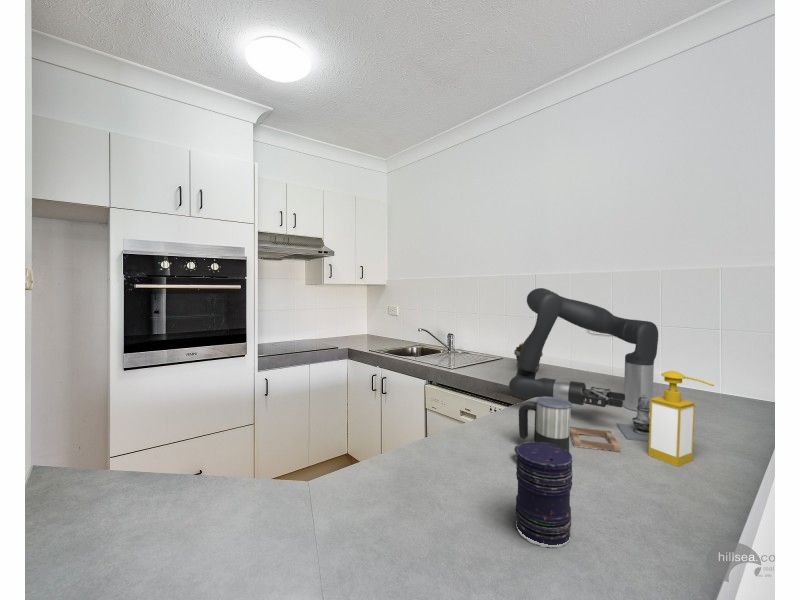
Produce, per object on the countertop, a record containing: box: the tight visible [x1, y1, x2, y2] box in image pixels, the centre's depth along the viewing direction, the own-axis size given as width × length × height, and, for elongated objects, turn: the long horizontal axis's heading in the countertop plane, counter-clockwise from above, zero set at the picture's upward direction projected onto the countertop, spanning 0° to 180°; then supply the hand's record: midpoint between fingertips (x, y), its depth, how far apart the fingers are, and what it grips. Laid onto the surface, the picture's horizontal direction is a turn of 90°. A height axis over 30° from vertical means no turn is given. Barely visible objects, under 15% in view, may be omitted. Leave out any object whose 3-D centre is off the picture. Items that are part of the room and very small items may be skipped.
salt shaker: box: [631, 394, 650, 435], centre depth 117 cm, size 6×6×12 cm
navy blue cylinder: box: [514, 441, 573, 545], centre depth 71 cm, size 10×10×15 cm
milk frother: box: [513, 397, 574, 455], centre depth 100 cm, size 14×16×15 cm
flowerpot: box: [513, 342, 543, 372], centre depth 205 cm, size 14×15×20 cm
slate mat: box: [616, 422, 649, 442], centre depth 118 cm, size 12×12×1 cm
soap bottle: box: [647, 370, 715, 467], centre depth 98 cm, size 7×13×24 cm, turn 27°
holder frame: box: [569, 426, 622, 453], centre depth 112 cm, size 12×12×2 cm
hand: (623, 400), depth 120 cm, fingers open, 8 cm apart
